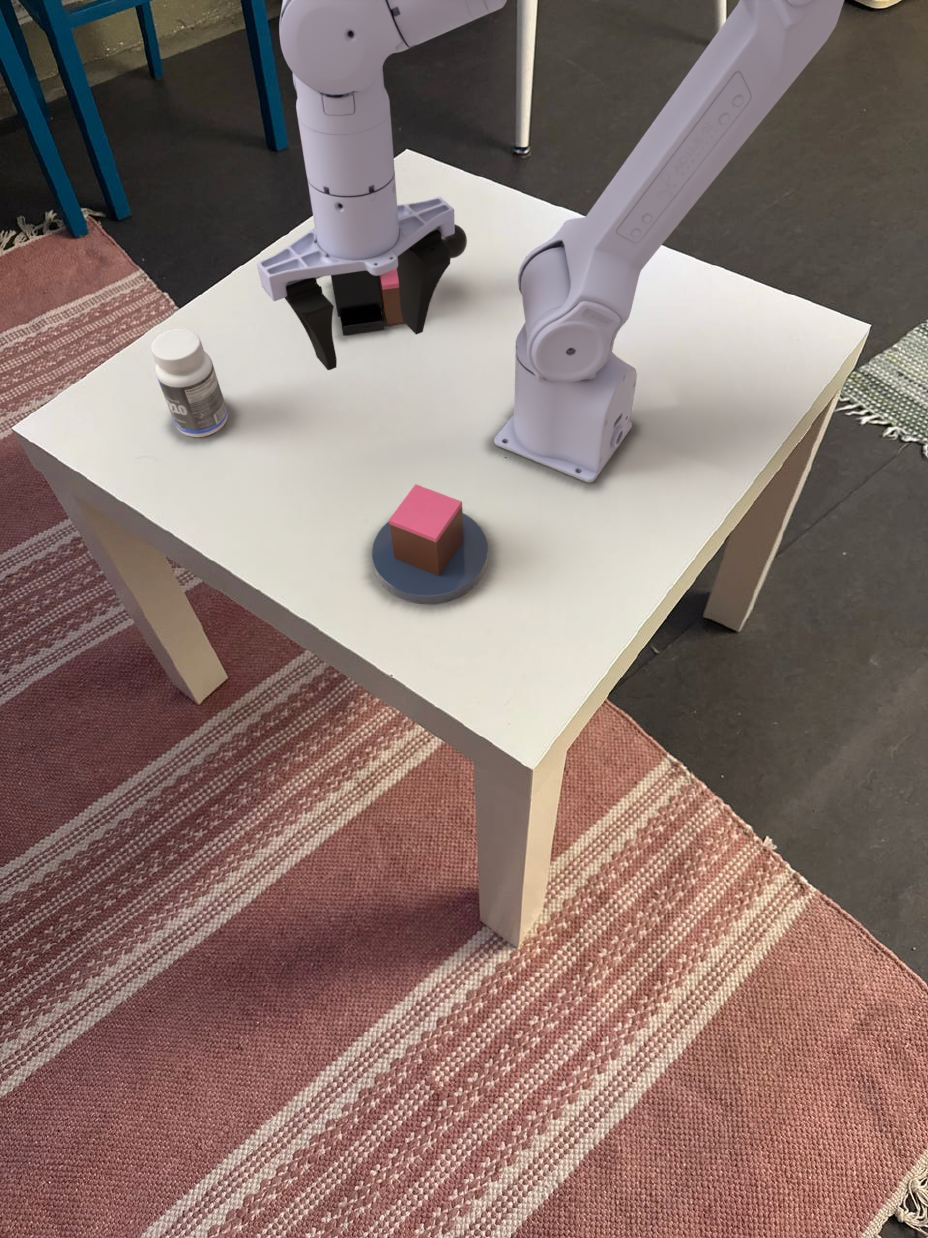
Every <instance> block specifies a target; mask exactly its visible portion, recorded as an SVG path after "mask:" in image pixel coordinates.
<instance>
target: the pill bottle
mask: <svg viewBox="0 0 928 1238" xmlns="http://www.w3.org/2000/svg"><path fill="white" fill-rule="evenodd" d="M150 348H151V352H152V355H153V356H152V357H153V360H154V362H155V368H154V369H155V370H154V371H155V376H156V379H157V381H158V384H159V386H160V389H161V391H162V394H163V397H164V399H165V402H166V404H167V408H168V410H169V412H170V415H171V418H172V420H173V423H174V426H175V427H176V429H177V430H178V431H179V432H180V433H181V434H182V435H184V436H187V437H191V438H202V437H203V438H204V437H207V436H210V435H213V434H215V433H216V432H218V431H220V430H221V429H222V428H223V427H224V426H225V424H226V423H227V421H228V417H229V412H228V409H227V405H226V401H225V398H224V396H223V393H222V390H221V386H220V383H219V379H218V377H217V376H218V375H217V374H216V369H215V367H214V364H213V360H212V358H211V357H210V355H209V354H208V352H206V351H205V350H204V347H203V343H202V340H201V338H200V336H199V335H198V334H197V333H196V332H195V331H193V330H191V329H187V328H173V329H169V330H166V331H163V332H162V333H160V334H158V335H157V336H156V337H155V338H154V339H153V341H152V342H151V347H150Z"/></svg>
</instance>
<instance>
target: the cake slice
mask: <svg viewBox="0 0 928 1238" xmlns="http://www.w3.org/2000/svg"><path fill="white" fill-rule="evenodd" d="M462 513H463V501H461V500H459V499H456V498H454V497H451V496H449V495H446V494H443V493H440V492H438V491H436V490H435V491H434V490H432V489H430V488H428V487H425V486H422V485H419V484H417V483H415V484H414V485H413V487H412V488H411V489H410V491H409V492H408V494H407V495H406V496H405V497H404V499H402V501H401V502H400V504H399V505H398V507H397V508H396V509H395V511H393V514H392V515H391V516H390V518H389V519H388V521H389V525H390V532H391V539H392V546H393V553H394V558H395V559H398V560H400V561H403V562H405V563H408V564H410V565H413V566H415V567H418V568H420V569H422V570H425V571H427V572H430V573H432V574H435V575H437V576H440V575H441V573H442V572H443V570H444V569H445V567H446V566H447V564H448V563H449V561H450V560H451V558H452V557H453V555H454V554H455V552H456V551H457V549H458V548H459V546H460V545H461V543H462V542H463V540H464V536H463V514H464V513H463V514H462Z"/></svg>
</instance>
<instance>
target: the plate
mask: <svg viewBox="0 0 928 1238" xmlns="http://www.w3.org/2000/svg"><path fill="white" fill-rule="evenodd" d="M462 514H463V536H464V540H463V542H462V543H461V545H460V546H459V548H458V549H457V551H456V552H455V554H454V555H453V557H452V558H451V560H450V561H449V563H448V564H447V566H446V567H445V569H444V570H443V572H442V573H441V575H440V576H437V575H435V574H432V573H430V572H427V571H425V570H422V569H420V568H418V567H415V566H413V565H410V564H408V563H405V562H403V561H400V560H398V559H395V558H394V553H393V546H392V539H391V532H390V525H389V520H388V521H387V522H386V523H385V524H384V525H383V526H382V527H381V528H380V529H379V531H378V533H377V534H376V536H375V538H374V541H373V544H372V547H371V558H372V564H373V570H374V573H375V575H376V577H377V579H378V581H379V582H380V584H381V585H382V586H383V587H384V588H385V589H386V590H387V591H388V592H389V593H390V594H392V595H394V596H396V597H398V598H399V599H401V600H404V601H407V602H411V603H416V604H424V605H431V604H432V605H433V604H440V603H441V604H442V603H445V602H449V601H452V600H455V599H457V598H459V597H462V596H463V595H465V594H466V593H468V592H470V591H471V590H472V589H473V588H474V587H475V586H477V584H478V583H479V582H480V581H481V580H482V578H483V576H484V574H485V572H486V570H487V566H488V561H489V560H488V559H489V547H488V541H487V538H486V535H485V533H484V531H483V530H482V528H481V526H480V525H479V523H477V522H476V521H475V520H474V519H473V518H471V517H470V516H469V515H467V514H465V513H464V512H462Z"/></svg>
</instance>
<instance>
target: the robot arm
mask: <svg viewBox="0 0 928 1238" xmlns="http://www.w3.org/2000/svg"><path fill="white" fill-rule="evenodd" d="M507 1H508V0H282V4H281V9H280V10H281V11H280V16H279V25H278V30H279V31H278V32H279V41H280V49H281V52H282V54H283V58H284V60H285V62H286V64H287V66H288V68H289V69H290V71H291V72H292V81H293V86H294V90H295V92H296V97H297V98H296V104H295V108H296V109H295V110H296V116H297V123H298V128H299V135H300V141H301V148H302V155H303V161H304V168H305V173H306V178H307V185H308V192H309V199H310V205H311V211H312V212H311V213H312V216H313V224H314V228H312V229H311V230H309V231H308V232H306V233H305V234H303V235H302V236H300V237H299V238H297V239H296V240H295V241H293V242H291V243H289V244H288V245H287V246H286V247H285V248H283V249H281V250H280V251H278V252H276V253H275V254H273V255H272V256H269V257H267V258H265V259H263V260H260V261H257V262H256V266H257V271H258V275H259V280H260V285H261V288H262V289H263V290H264V291H265V293H266V294H267V295H268V297H269V298H270V299H271V300H272V301H273V302H277V301H279V300H282V299H285V301H286V302H287V303H288V305H289V306H290V307H291V309H292V311H293V312H294V314H295V315H296V317H297V318H298V320H299V321H300V324H301V325H302V327H303V328H304V330H305V332H306V334H307V336H308V338H309V341H310V343H311V344H312V348H313V350H314V353H315V357H316V358H317V359H318V360H319V362H320V363H321V364H322V365H323V367H324V368H325V369H326V370H327V371H332V370H334V369H336V368H337V365H338V364H337V363H338V362H337V361H338V359H337V354H336V349H335V344H334V338H333V337H334V336H333V315H334V307H335V306H334V304H333V303H332V302H331V301H330V300H329V299H328V297H326V295H324V293H323V288H322V287H323V286H321V285H320V284H318V280H319V279H321V278H324V277H328V276H331V275H336V274H344V273H351V272H358V271H365V270H367V271H368V272H369V273H370V274H372V275H375V276H378V275H382V274H384V273H387V272H389V271H392V270H394V269H396V268H397V274H398V280H399V294H400V308H401V313H402V318H403V321H404V323H403V324H405V325H406V326H407V327H408V328H409V329H410V330H411V331H412V333H414V334H415V335H419V334H421V333H423V332H424V328H425V324H426V320H427V315H428V311H429V308H430V304H431V302H432V299H433V295H434V293H435V290H436V288H437V286H438V284H439V282H440V280H441V279H442V276H443V275H444V273H445V272H446V271H447V269H448V267H449V266H450V265H451V259H452V258H451V257H450V249H449V247H448V246H447V245H446V244H445V243H444V242H442V241H441V237H447V236H449V235H452V234H454V233H455V208H453V206H451V205H450V203H448V202H447V201H446V200H445V199H444V198H442V197H441V196H437V197H434V198H431V199H427V200H423V201H417V202H410V203H402V204H398V197H397V184H396V183H397V182H396V169H395V159H394V158H395V157H394V156H395V155H394V144H393V143H394V142H393V130H392V115H391V105H390V103H391V102H390V97H389V94H388V92H387V89H386V87H385V82H384V81H385V80H384V71H383V70H384V68H383V66H384V64H385V61H386V60H387V58H388V57H389V56H391V55H392V54H397V53H402V52H404V51H407V50H409V49H411V48H414V47H416V46H419V45H420V44H423V43H425V42H427V41H430V40H431V39H434V38H436V37H439V36H441V35H444V34H446V33H447V32H451V31H453V30H455V29H457V28H459V27H463V26H465V25H466V24H468V23H471V22H473V21H475V20H477V19H480V18H482V17H485V16H487V15H489V14H491V13H494V12H496V11H498V10H500V9H503V8H504V6H506V3H507ZM844 2H845V0H739V1H738V3H737V4H736V6H735V7H734V8H733V10H732V11H731V13H730V14H729V15H728V17H727V18H726V20H725V22H724V23H723V24H722V26H721V27H720V28H719V30H718V31H717V32H716V34H715V35H714V37H713V38H712V40H711V41H710V42H709V44H708V45H707V46H706V48H705V49H704V51H703V52H702V53H701V55H700V56H699V58H698V59H697V60H696V62H695V64H694V65H693V66H692V68H691V69H690V71H688V73H687V75H686V76H685V77H684V79H683V80H682V81H681V83H680V84H679V86H678V87H677V89H676V90H675V91H674V93H672V95H671V97H670V98H669V99H668V101H667V102H666V103H665V105H664V107H663V108H662V110H661V111H660V112H659V114H658V115H657V116H656V118H655V119H654V121H653V122H652V123H651V125H650V126H649V128H648V129H647V130H646V132H645V133H644V135H642V137H641V138H640V140H639V142H638V143H637V144H636V146H634V149H633V150H632V151H631V153H630V154H629V156H628V157H627V158H626V160H625V161H624V162H623V164H622V165H621V167H620V168H619V169H618V171H617V172H616V174H615V175H614V177H613V178H612V180H611V181H610V182H609V183H608V184H607V186H606V188H605V189H604V190H603V192H602V193H601V195H599V198H598V199H597V201H596V202H595V203H594V204H593V206H592V207H591V208H590V209H589V211H588V213H587V214H586V216H584V217H577V218H570V219H567V220H565V221H564V223H563V224H562V226H561V227H560V228H559V230H558V231H556V233H555V234H554V236H552V237H551V238H550V239H548V240H547V241H545V242H544V243H542V244H540V245H539V246H537V247H535V248H534V249H532V251H530V252H529V253H528V255H527V256H526V257H525V258H524V259H523V261H522V263H521V264H520V267H519V271H518V274H517V285H518V291H519V292H520V295H521V299H522V307H523V308H522V309H523V315H524V323H523V325H522V327H521V329H520V330H519V332H518V334H517V337H516V339H515V359H514V364H515V365H514V401H513V403H514V406H513V407H514V408H513V414H512V416H511V417H510V418H509V420H508V421H507V422H506V423H505V424H504V425H503V427H502V428H501V429H500V431H498V433H497V435H496V436H495V437H494V438H493V441H494V443H493V444H494V445H496V446H497V447H499V448H502V449H505V450H507V451H509V452H511V453H514V454H517V455H520V456H521V457H524V458H526V459H529V460H531V461H534V462H536V463H538V464H541V465H544V466H546V467H548V468H551V469H553V470H556V471H558V472H561V473H563V474H566V475H568V476H571V477H574V478H576V479H578V480H580V481H583V482H586V483H593V482H594V481H596V479H597V477H598V476H599V475H600V473H601V472H602V471H603V469H604V468H605V466H606V465H607V463H608V462H609V461H610V459H611V458H612V457H613V455H614V453H615V452H616V451H617V450H618V448H619V446H620V445H621V443H623V441H624V439H625V438H626V436H627V435H628V434H629V432H630V431H631V429H632V427H633V422H632V421H631V415H632V411H633V410H632V409H633V404H634V397H635V393H636V392H635V391H636V385H637V378H638V377H637V376H638V372H637V369H636V367H634V366H633V365H631V364H630V363H627V362H625V361H624V360H622V359H621V358H620V357H618V355H616V354H615V353H614V352H613V349H614V345H615V341H616V337H617V335H618V334H619V331H620V330H621V329H622V327H624V325H625V324H626V323H627V321H628V320H629V318H630V315H631V312H632V309H633V304H634V300H635V295H636V291H637V287H638V283H639V278H640V276H641V275H640V274H641V273H642V270H643V269H644V267H645V266H646V265H647V264H648V263H649V261H650V260H651V259H652V257H654V255H655V254H656V253H657V252H658V250H659V249H660V248H661V247H662V245H663V244H664V243H665V242H666V240H667V239H668V238H669V237H670V235H671V234H672V233H673V232H674V230H675V229H676V228H677V227H678V226H679V225H680V223H681V222H682V220H683V219H684V218H685V217H686V216H687V214H688V213H689V212H690V210H692V208H693V207H694V206H695V204H696V203H697V202H698V201H699V199H700V198H701V197H702V195H703V194H704V193H705V192H706V191H707V190H708V188H709V187H710V186H711V185H712V183H713V182H714V181H715V179H717V177H718V176H719V175H720V173H722V171H723V169H724V168H725V167H726V166H727V165H728V163H729V162H730V161H731V160H732V159H733V157H734V156H735V155H736V154H737V153H738V151H739V150H740V149H741V148H742V146H743V145H744V144H745V142H746V141H747V140H748V139H749V137H750V136H751V135H752V133H753V132H754V131H755V130H756V129H757V128H758V126H759V125H760V124H761V122H763V120H764V119H765V118H766V116H767V115H768V114H769V113H770V112H771V110H772V109H773V108H774V107H775V105H777V103H778V101H779V100H780V99H781V98H782V97H783V95H784V94H785V93H786V92H787V90H789V89H790V87H791V86H792V84H793V83H794V82H795V80H797V78H798V77H799V76H800V74H801V73H802V72H803V70H804V69H805V68H806V67H807V66H808V64H809V63H811V61H812V59H814V57H815V56H816V54H817V53H818V52H819V51H820V49H822V47H823V46H824V45H825V43H826V42H827V41H828V39H829V38H830V36H831V35H832V33H833V31H834V30H835V28H836V26H837V24H838V22H839V18H840V15H841V12H842V8H843V5H844Z"/></svg>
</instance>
